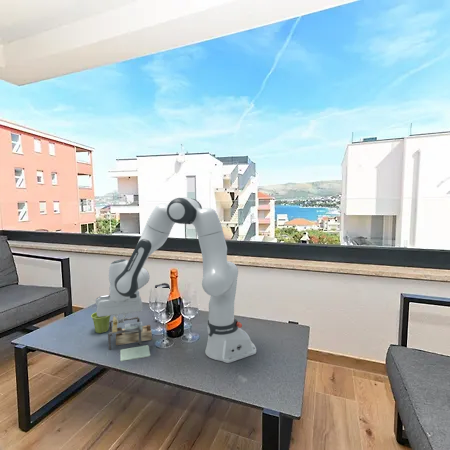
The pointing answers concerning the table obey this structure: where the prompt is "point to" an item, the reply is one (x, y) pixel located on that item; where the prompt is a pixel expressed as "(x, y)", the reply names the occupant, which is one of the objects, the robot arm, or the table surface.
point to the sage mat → (134, 353)
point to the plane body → (130, 338)
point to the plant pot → (100, 323)
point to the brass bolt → (114, 325)
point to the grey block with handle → (133, 327)
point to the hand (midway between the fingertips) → (120, 322)
